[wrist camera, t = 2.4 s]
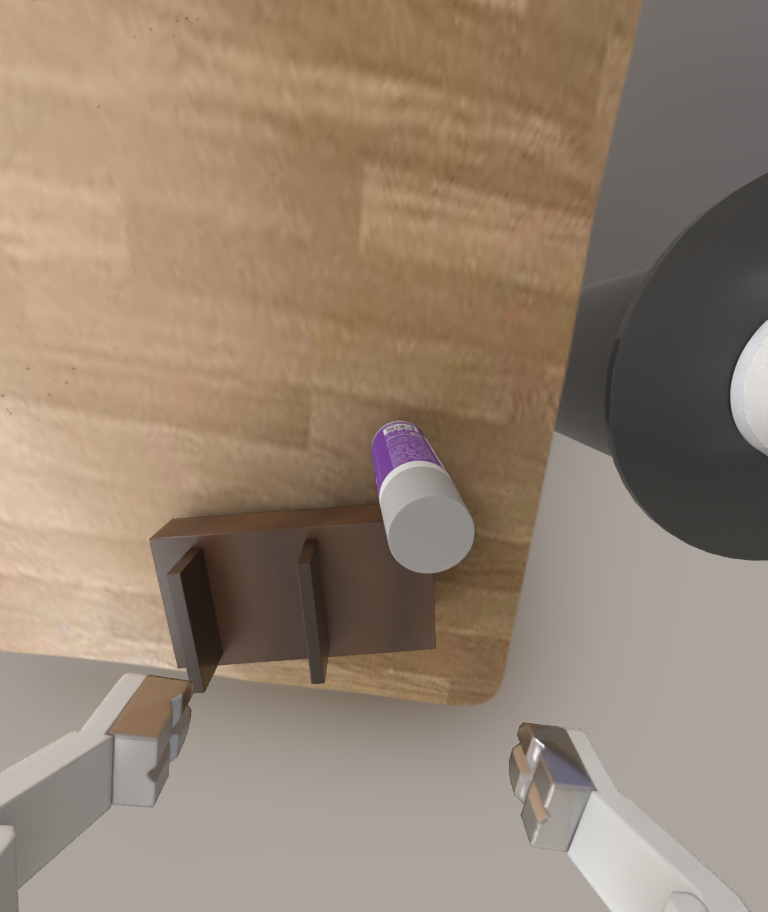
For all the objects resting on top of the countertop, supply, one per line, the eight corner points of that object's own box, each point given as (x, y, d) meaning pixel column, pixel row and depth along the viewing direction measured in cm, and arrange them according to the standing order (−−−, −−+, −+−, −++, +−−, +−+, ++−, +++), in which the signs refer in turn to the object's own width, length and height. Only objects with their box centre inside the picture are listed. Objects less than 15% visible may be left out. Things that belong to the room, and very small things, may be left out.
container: (360, 455, 35) (367, 550, 21) (391, 409, 34) (420, 476, 20) (406, 483, 36) (441, 590, 22) (437, 438, 35) (495, 521, 21)
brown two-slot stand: (424, 500, 37) (439, 541, 29) (429, 619, 40) (444, 685, 32) (172, 518, 36) (118, 564, 29) (196, 637, 39) (154, 707, 32)
